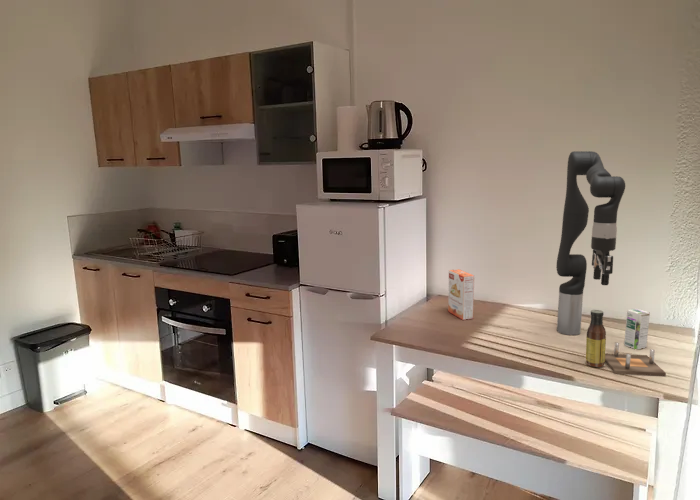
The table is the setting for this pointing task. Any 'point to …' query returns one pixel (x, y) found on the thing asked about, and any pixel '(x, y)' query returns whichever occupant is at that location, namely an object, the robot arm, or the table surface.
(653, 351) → the metal pins
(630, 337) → the syrup box
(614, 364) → the board
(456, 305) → the cracker box
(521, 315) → the table surface
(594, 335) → the sauce bottle
